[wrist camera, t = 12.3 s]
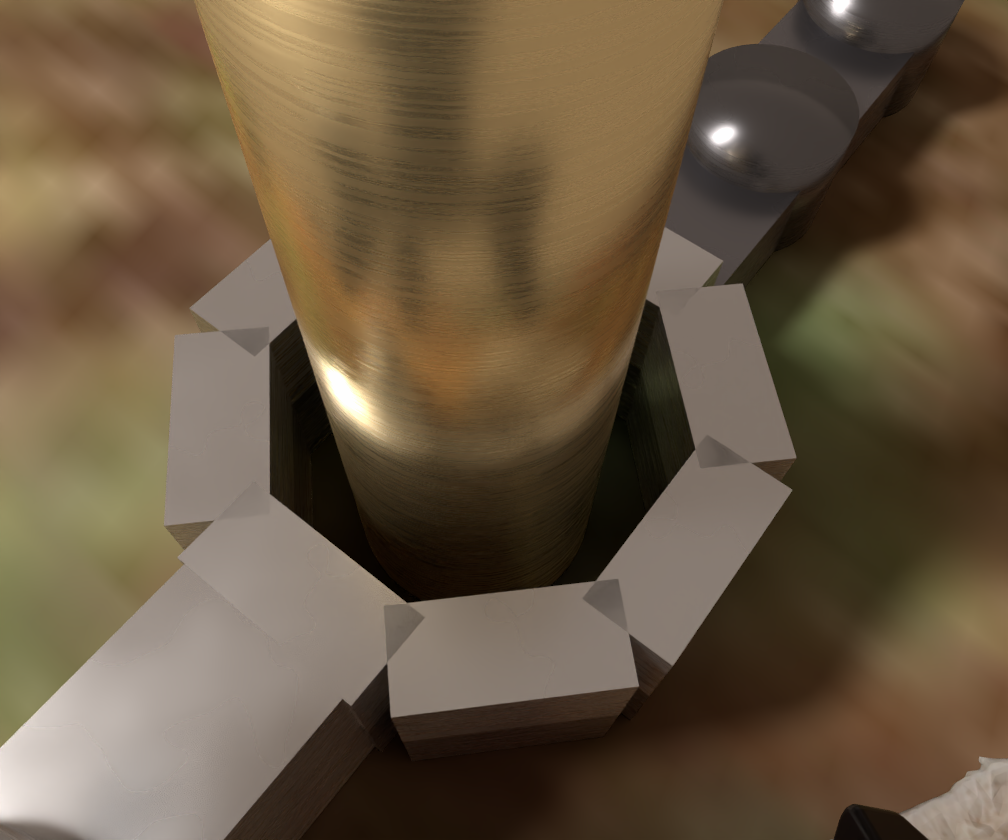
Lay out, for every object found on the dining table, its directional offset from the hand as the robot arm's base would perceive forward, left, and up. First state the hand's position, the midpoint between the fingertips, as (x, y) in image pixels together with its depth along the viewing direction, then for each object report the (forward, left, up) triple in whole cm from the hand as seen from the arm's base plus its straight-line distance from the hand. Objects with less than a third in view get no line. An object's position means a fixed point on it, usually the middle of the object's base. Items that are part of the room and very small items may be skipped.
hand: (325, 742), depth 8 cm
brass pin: (+5, -2, -8) cm, 10 cm away
